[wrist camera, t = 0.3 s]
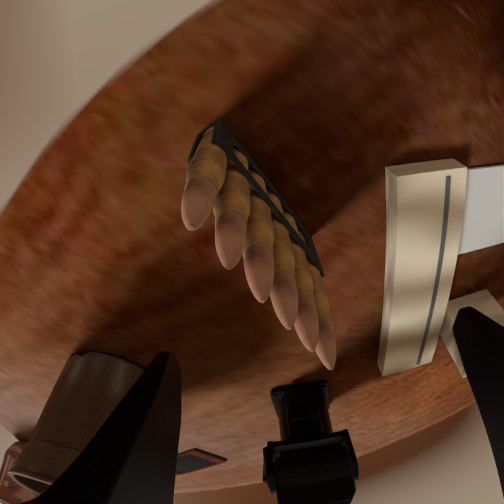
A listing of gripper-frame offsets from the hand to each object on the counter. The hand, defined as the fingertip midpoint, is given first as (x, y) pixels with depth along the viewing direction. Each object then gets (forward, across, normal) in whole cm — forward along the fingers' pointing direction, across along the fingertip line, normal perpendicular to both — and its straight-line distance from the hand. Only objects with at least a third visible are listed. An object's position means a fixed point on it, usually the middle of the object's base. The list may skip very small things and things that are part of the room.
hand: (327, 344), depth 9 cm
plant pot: (+15, +21, +21) cm, 33 cm away
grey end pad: (+14, -18, +4) cm, 24 cm away
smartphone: (+15, +19, +47) cm, 53 cm away
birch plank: (+14, -12, +11) cm, 21 cm away
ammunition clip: (+14, +1, +1) cm, 15 cm away
